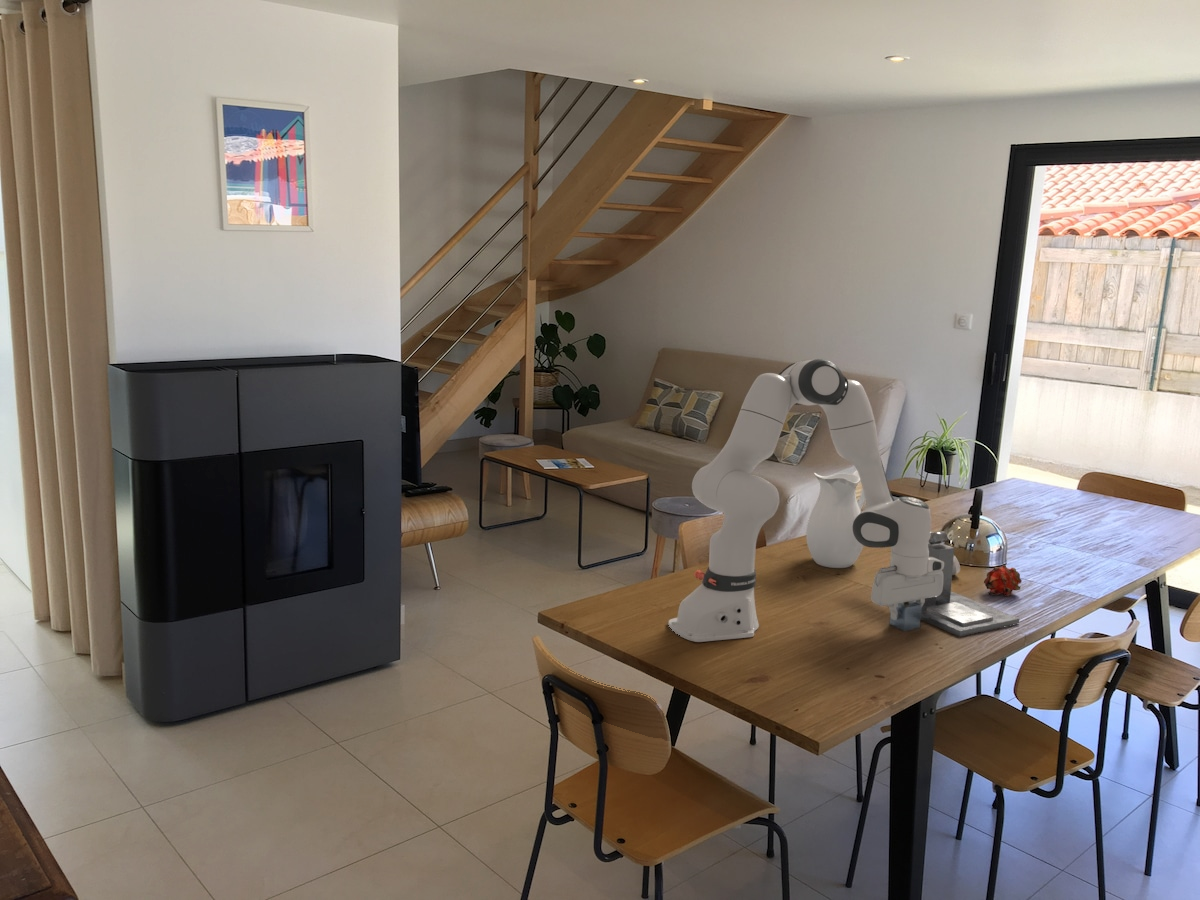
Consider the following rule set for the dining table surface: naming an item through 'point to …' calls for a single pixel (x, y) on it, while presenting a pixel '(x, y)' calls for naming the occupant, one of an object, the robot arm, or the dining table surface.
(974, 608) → the stand
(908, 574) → the robot arm
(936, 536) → the lever
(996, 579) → the dragon fruit
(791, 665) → the dining table surface
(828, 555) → the pitcher
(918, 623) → the block
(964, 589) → the dining table surface
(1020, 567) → the dining table surface
